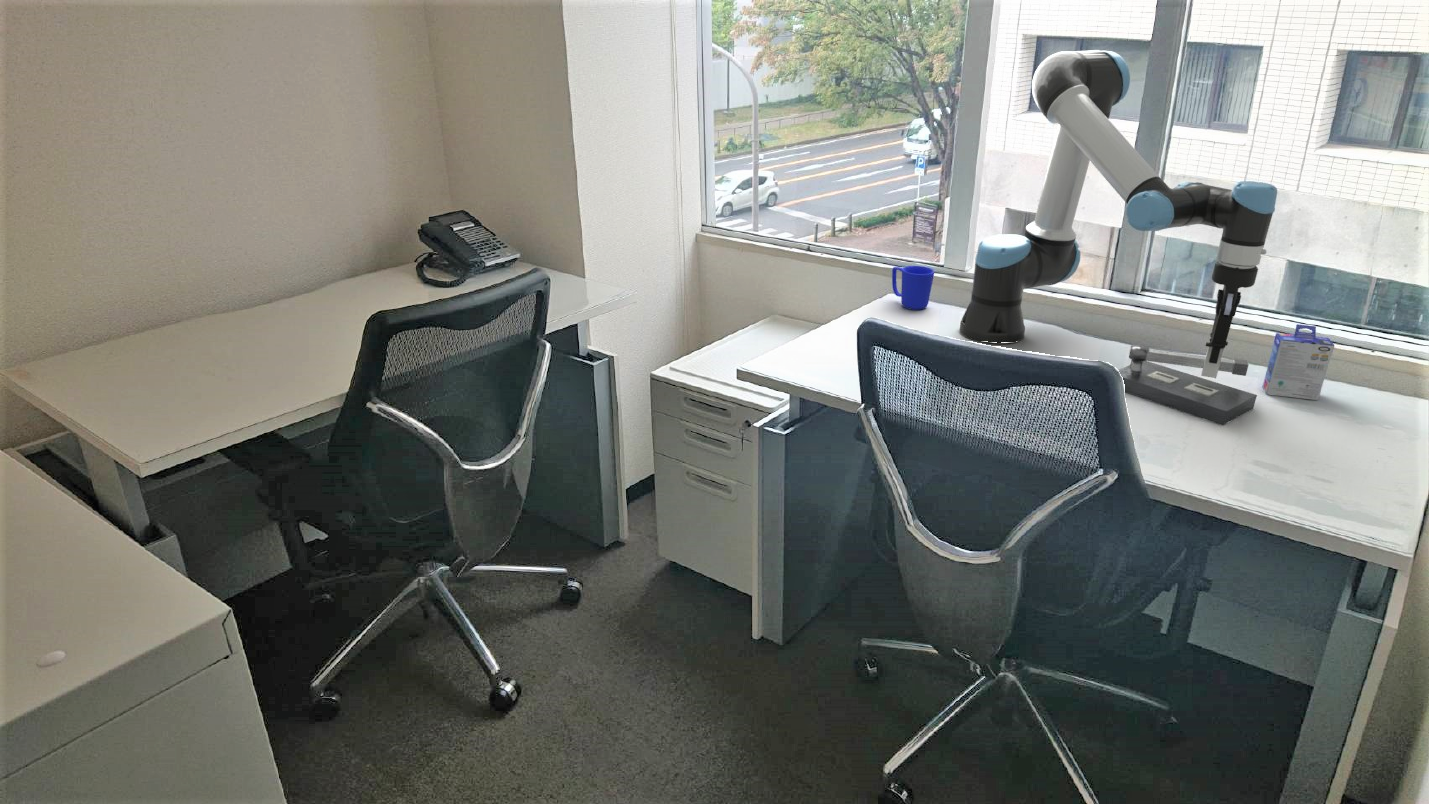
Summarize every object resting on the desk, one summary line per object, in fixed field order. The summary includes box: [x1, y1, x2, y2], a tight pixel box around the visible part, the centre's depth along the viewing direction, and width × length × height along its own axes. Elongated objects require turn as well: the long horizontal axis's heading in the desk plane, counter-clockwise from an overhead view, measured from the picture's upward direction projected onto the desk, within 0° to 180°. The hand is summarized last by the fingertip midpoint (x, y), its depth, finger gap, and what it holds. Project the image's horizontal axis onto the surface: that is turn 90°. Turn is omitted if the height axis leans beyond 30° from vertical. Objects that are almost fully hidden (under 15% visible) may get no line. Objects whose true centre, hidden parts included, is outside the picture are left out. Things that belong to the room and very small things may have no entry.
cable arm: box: [1128, 344, 1249, 377], centre depth 191 cm, size 22×4×3 cm, turn 68°
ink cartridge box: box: [1262, 323, 1335, 401], centre depth 190 cm, size 10×6×14 cm, turn 72°
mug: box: [891, 265, 935, 311], centre depth 242 cm, size 8×12×10 cm
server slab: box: [1118, 359, 1258, 426], centre depth 189 cm, size 24×13×5 cm, turn 38°
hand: (1208, 375), depth 189 cm, fingers closed
